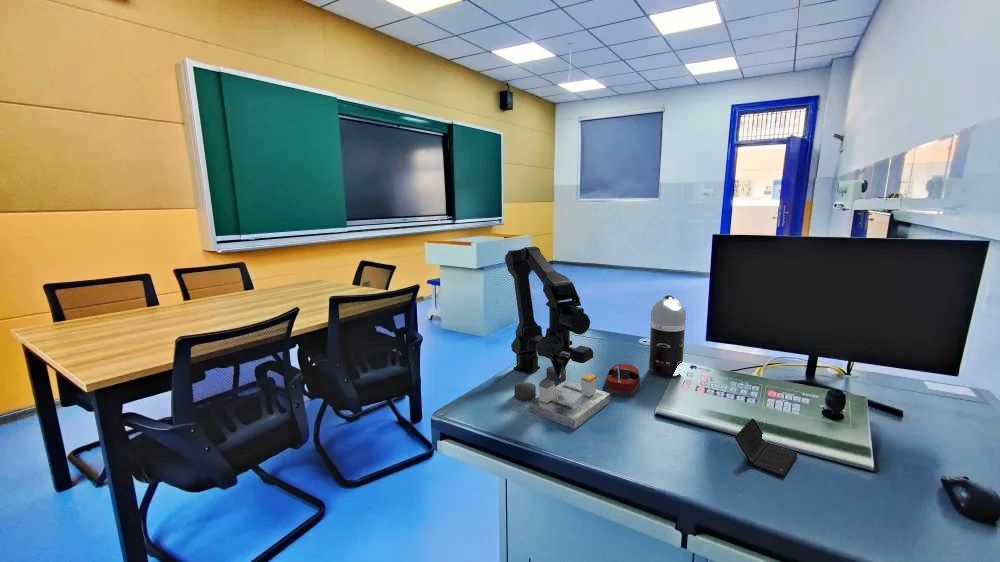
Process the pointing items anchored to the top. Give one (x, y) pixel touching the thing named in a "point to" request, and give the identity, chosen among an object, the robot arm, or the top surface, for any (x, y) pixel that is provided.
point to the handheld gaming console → (764, 451)
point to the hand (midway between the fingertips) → (559, 376)
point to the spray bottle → (666, 336)
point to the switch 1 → (547, 390)
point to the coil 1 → (525, 391)
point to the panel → (570, 405)
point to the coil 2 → (553, 376)
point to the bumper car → (622, 381)
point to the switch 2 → (588, 384)
